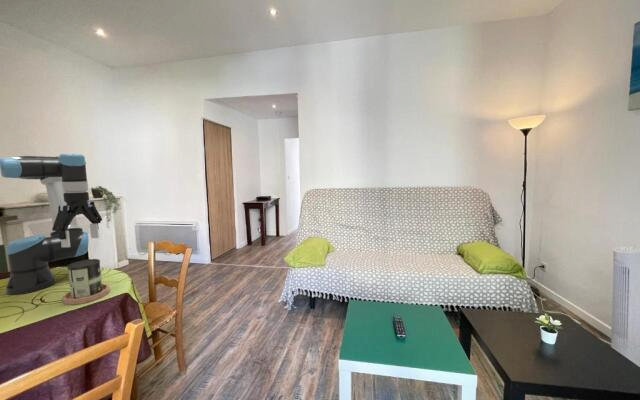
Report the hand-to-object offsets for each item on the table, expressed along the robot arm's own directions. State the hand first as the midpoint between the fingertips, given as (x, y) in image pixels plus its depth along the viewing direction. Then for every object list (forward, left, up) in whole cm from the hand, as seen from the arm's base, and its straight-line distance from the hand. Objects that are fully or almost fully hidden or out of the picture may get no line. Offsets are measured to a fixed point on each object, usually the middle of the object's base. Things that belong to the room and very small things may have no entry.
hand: (81, 242), depth 107 cm
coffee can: (0, 0, -23) cm, 23 cm away
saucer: (0, 0, -24) cm, 24 cm away
